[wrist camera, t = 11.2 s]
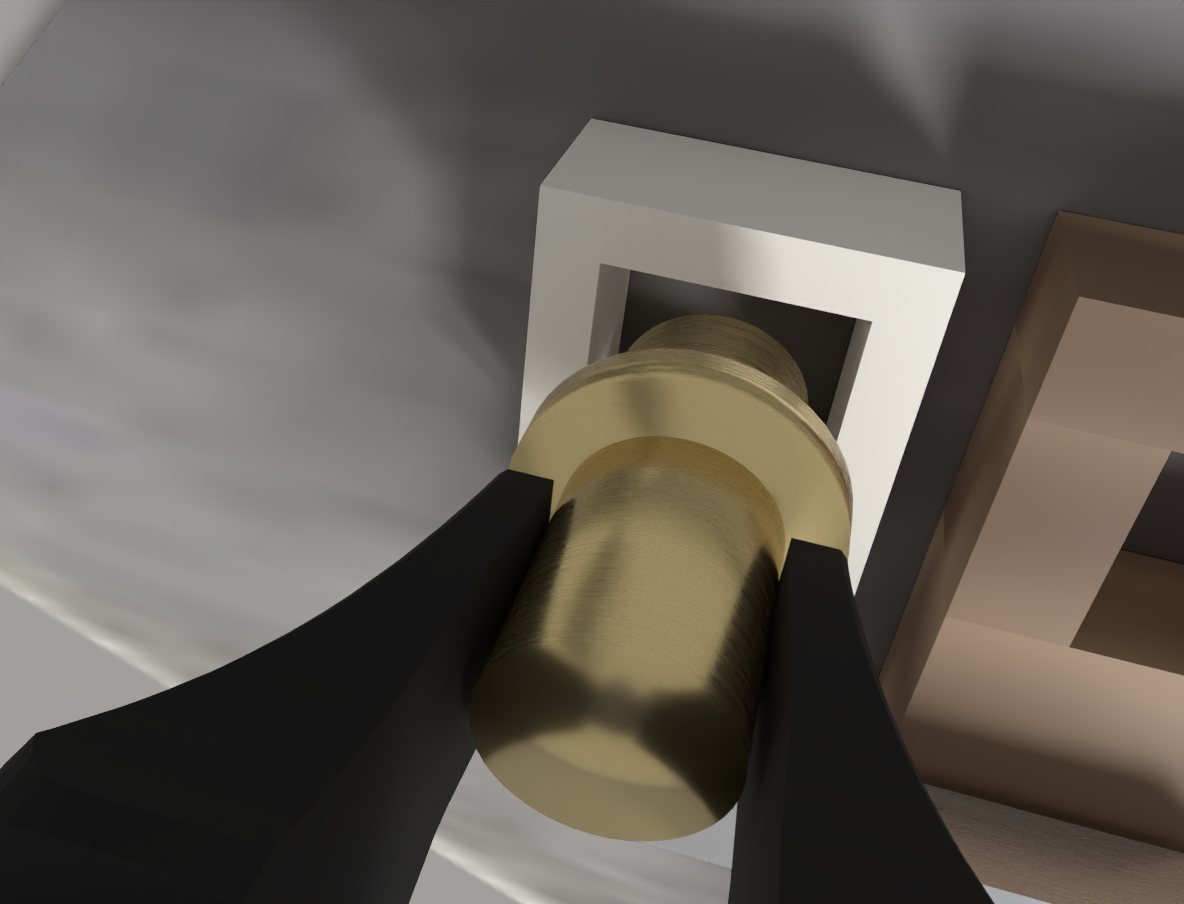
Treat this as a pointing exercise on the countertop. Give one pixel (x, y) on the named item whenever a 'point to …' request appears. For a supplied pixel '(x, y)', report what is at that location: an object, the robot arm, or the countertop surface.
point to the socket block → (1061, 557)
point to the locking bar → (1017, 855)
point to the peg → (656, 579)
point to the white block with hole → (752, 272)
